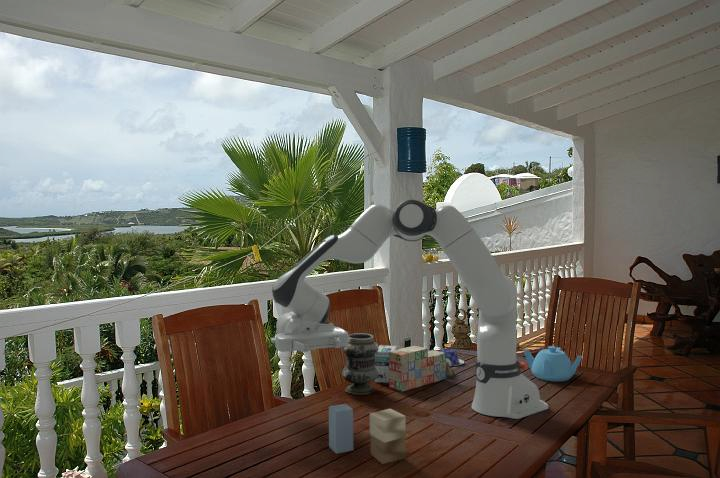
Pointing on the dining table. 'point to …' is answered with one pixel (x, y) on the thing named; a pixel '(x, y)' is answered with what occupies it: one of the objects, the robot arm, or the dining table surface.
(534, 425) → the dining table surface
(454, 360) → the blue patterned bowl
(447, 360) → the eagle figurine
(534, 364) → the teapot
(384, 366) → the light bulb box
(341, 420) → the pillar
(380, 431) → the tower top
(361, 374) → the apothecary jar
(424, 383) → the stack of blocks
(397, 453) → the tower base
